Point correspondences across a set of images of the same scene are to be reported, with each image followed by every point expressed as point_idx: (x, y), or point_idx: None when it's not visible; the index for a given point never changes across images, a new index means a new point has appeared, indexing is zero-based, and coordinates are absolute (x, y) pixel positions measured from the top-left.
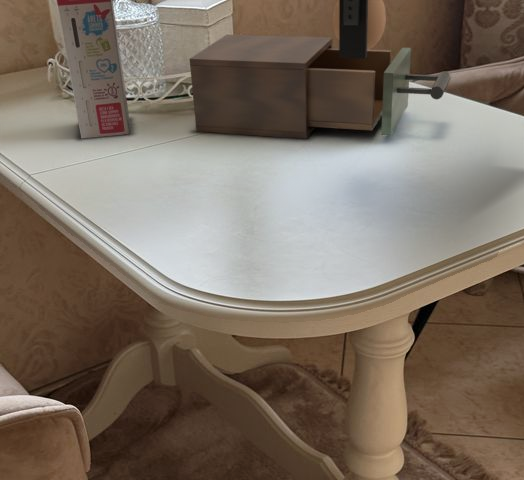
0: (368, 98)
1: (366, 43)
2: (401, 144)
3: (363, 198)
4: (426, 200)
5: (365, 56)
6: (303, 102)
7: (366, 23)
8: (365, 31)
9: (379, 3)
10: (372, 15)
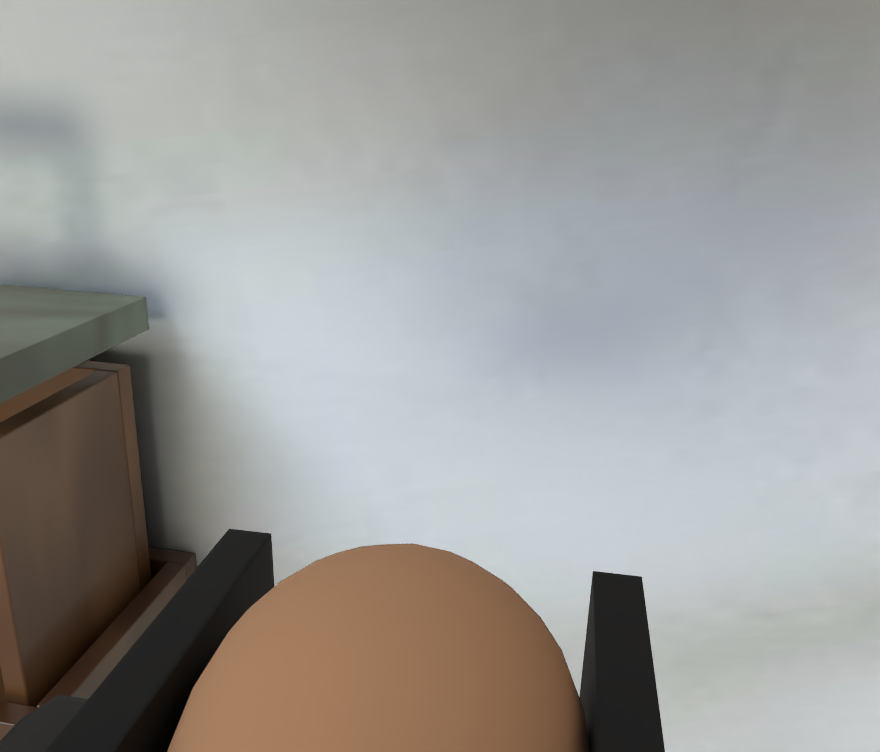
0: (61, 423)
1: (617, 627)
2: (161, 251)
3: (662, 318)
4: (661, 99)
5: (636, 582)
6: (133, 632)
7: (639, 735)
8: (655, 698)
9: (422, 745)
10: (541, 730)
